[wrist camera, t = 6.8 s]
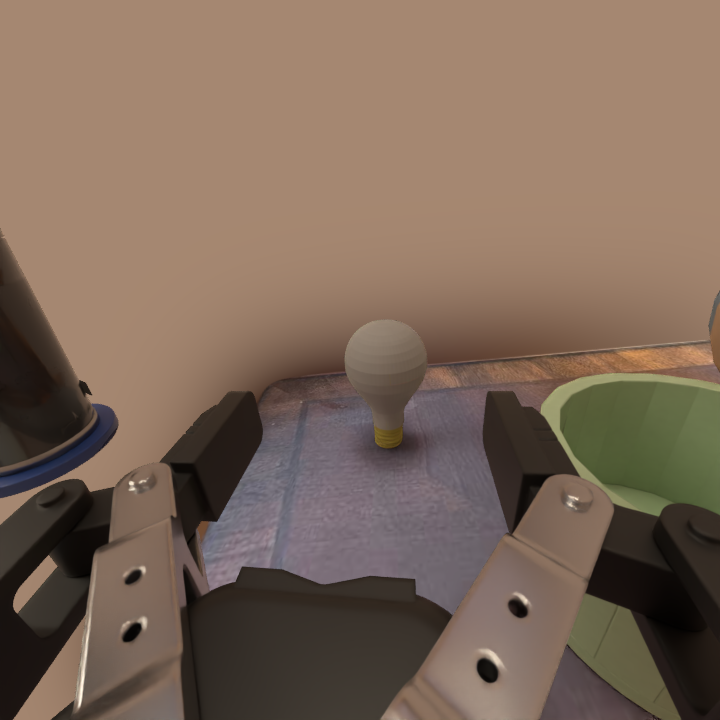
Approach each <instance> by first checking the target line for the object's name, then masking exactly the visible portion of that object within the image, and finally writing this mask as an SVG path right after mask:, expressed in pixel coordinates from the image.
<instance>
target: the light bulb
mask: <svg viewBox="0 0 720 720" xmlns="http://www.w3.org/2000/svg"><path fill="white" fill-rule="evenodd" d="M426 368H427V352H426V350H425V347H424V344H423V342H422V340H421V338H420V337H419V335H418V334H417V333H416V332H415V331H414V330H413V329H412V328H410V327H409V326H408V325H406V324H404V323H402V322H399V321H395V320H378V321H373V322H370V323H368V324H366V325H364V326H363V327H361V328H360V329H358V330H357V331H356V332H355V334H354V335H353V336H352V338H351V339H350V341H349V343H348V346H347V348H346V353H345V370H346V373H347V376H348V379H349V381H350V383H351V384H352V386H353V387H354V389H355V390H356V391H357V392H358V394H359V395H360V396H361V397H362V398H363V399H364V400H365V402H366V403H367V404H368V405H369V407H370V408H371V410H372V415H373V424H374V429H375V430H374V431H375V442H376V444H377V445H378V446H380V447H382V448H394V447H396V446H398V445H399V444H400V443H401V442H402V439H403V430H402V429H403V427H402V426H403V423H404V408H405V406H406V404H407V403H408V401H409V400H410V398H411V397H412V396H413V394H414V393H415V392H416V390H417V389H418V388H419V386H420V384H421V383H422V381H423V379H424V376H425V372H426Z"/></svg>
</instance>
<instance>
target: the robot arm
mask: <svg viewBox="0 0 720 720" xmlns="http://www.w3.org/2000/svg"><path fill="white" fill-rule="evenodd" d="M1 237H4V235H3V233H2V231H1V229H0V477H4V476H9V475H13V474H17V473H20V472H23V471H26V470H29V469H32V468H35V467H37V466H40V465H42V464H44V463H47V462H49V461H51V460H53V459H55V458H57V457H59V456H61V455H63V454H64V453H66V452H68V451H70V450H71V449H73V448H74V447H76V446H77V445H79V444H80V443H81V442H83V441H84V440H85V439H86V438H87V437H89V436H90V435H91V434H92V433H93V431H94V430H95V429H96V427H97V426H98V424H99V416H98V414H97V412H96V410H95V408H94V407H93V406H92V405H91V403H90V401H89V399H88V397H87V395H86V393H87V394H89V395H92V394H91V392H90V390H89V388H88V386H87V384H86V383H85V382H83V381H80V380H79V379H78V378H77V375H76V374H75V372H74V370H73V368H72V366H71V364H70V362H69V360H68V358H67V356H66V354H65V352H64V351H63V349H62V347H61V345H60V343H59V341H58V339H57V337H56V335H55V334H54V331H53V329H52V327H51V326H50V323H49V322H48V320H47V318H46V316H45V314H44V312H43V310H42V308H41V306H40V304H39V303H38V300H37V299H36V297H35V295H34V293H33V291H32V289H31V287H30V285H29V283H28V281H27V279H26V277H25V276H24V274H23V272H22V270H21V268H20V266H19V264H18V262H17V260H16V258H15V256H14V254H13V253H12V251H11V249H10V247H9V245H8V243H7V241H6V239H5V238H1ZM262 435H263V428H262V423H261V419H260V416H259V412H258V408H257V404H256V400H255V396H254V394H253V393H252V392H250V391H243V392H242V391H237V392H236V391H231V392H228V393H227V394H226V395H225V397H224V398H223V399H222V400H221V401H220V403H219V404H218V405H215V406H213V407H212V408H210V409H209V410H207V411H206V412H204V413H202V414H201V415H200V417H199V418H198V419H197V420H196V421H195V422H194V424H193V426H191V427H190V428H189V429H188V430H187V431H186V434H184V435H183V436H182V437H181V438H180V439H179V440H178V441H177V443H176V444H175V445H174V446H173V447H172V448H171V449H170V450H169V452H168V453H167V454H166V455H165V456H164V457H163V458H162V460H161V461H160V462H159V463H151V464H147V465H144V466H141V467H139V468H137V469H135V470H133V471H131V472H130V473H128V474H127V475H125V476H124V477H123V478H122V479H121V480H120V481H119V482H118V483H117V485H116V486H115V487H112V488H107V489H102V490H98V491H93V492H90V491H89V490H88V488H87V486H86V485H85V483H84V482H83V481H82V480H79V479H69V480H65V481H61V482H58V483H55V484H53V485H51V486H49V487H47V488H45V489H43V490H42V491H40V492H38V493H37V494H35V495H34V496H33V497H31V498H30V499H29V500H28V501H27V502H26V503H24V504H23V505H22V506H21V507H20V508H19V509H18V510H17V511H15V512H14V513H13V514H12V515H11V516H10V517H9V518H8V519H6V520H5V521H4V522H3V523H2V524H1V525H0V720H13V719H14V717H15V716H16V715H17V713H18V712H19V710H20V709H21V707H22V706H23V704H24V703H25V701H26V700H27V699H28V697H29V696H30V694H31V693H32V691H33V690H34V688H35V687H36V686H37V684H38V683H39V681H40V680H41V678H42V677H43V675H44V674H45V673H46V671H47V670H48V668H49V667H50V665H51V664H52V662H53V661H54V660H55V658H56V657H57V655H58V654H59V652H60V651H61V649H62V648H63V646H64V645H65V643H66V642H67V641H68V639H69V638H70V636H71V635H72V633H73V632H74V630H75V629H76V628H77V626H78V625H79V623H80V622H81V620H82V619H83V618H84V616H85V615H86V618H85V626H84V633H83V641H82V648H81V656H80V663H79V671H78V678H77V685H76V693H75V700H74V701H73V702H71V703H70V704H69V705H68V706H67V707H66V708H64V709H63V710H62V711H61V712H59V713H58V714H57V715H56V716H55V717H54V718H52V719H51V720H539V719H540V716H541V714H542V711H543V708H544V705H545V703H546V700H547V697H548V694H549V691H550V689H551V686H552V683H553V680H554V678H555V675H556V672H557V669H558V667H559V664H560V661H561V658H562V655H563V653H564V650H565V647H566V644H567V642H568V639H569V636H570V633H571V630H572V628H573V625H574V622H575V619H576V617H577V614H578V611H579V608H580V606H581V603H582V600H583V597H584V594H585V593H586V594H589V595H591V596H594V597H597V598H599V599H602V600H605V601H607V602H610V603H613V604H615V605H618V606H621V607H624V608H626V609H629V610H630V611H631V613H632V615H633V617H634V620H635V622H636V624H637V626H638V628H639V630H640V632H641V635H642V637H643V639H644V641H645V643H646V645H647V647H648V650H649V652H650V654H651V656H652V658H653V660H654V662H655V664H656V667H657V669H658V671H659V673H660V675H661V677H662V679H663V682H664V684H665V686H666V688H667V690H668V692H669V694H670V697H671V699H672V701H673V703H674V705H675V707H676V709H677V712H678V714H679V716H680V718H681V720H720V515H719V514H717V513H715V512H712V511H710V510H708V509H705V508H702V507H699V506H695V505H691V504H684V503H675V504H670V505H667V506H665V507H664V508H663V509H662V511H661V513H660V515H659V516H656V515H652V514H648V513H644V512H641V511H637V510H633V509H629V508H626V507H623V506H619V505H617V504H614V503H612V501H611V499H610V497H609V496H608V495H607V494H606V493H605V492H604V491H603V490H602V489H601V488H600V487H598V486H597V485H596V484H594V483H592V482H590V481H588V480H586V479H584V478H581V477H580V475H579V473H578V472H577V470H576V468H575V467H574V465H573V463H572V462H571V460H570V458H569V457H568V455H567V453H566V452H565V450H564V448H563V447H562V445H561V443H560V441H558V438H557V436H556V435H555V433H554V431H552V428H551V426H550V425H549V423H548V421H547V420H546V418H545V417H544V416H543V415H542V414H540V413H539V412H538V411H536V410H535V409H534V408H533V407H522V406H521V405H520V403H519V401H518V399H517V397H516V395H515V393H514V392H513V391H488V393H487V397H486V406H485V415H484V425H483V444H484V449H485V452H486V456H487V459H488V462H489V466H490V469H491V473H492V476H493V479H494V483H495V486H496V489H497V493H498V496H499V499H500V503H501V506H502V509H503V513H504V516H505V520H506V523H507V526H508V530H509V533H510V534H509V533H506V534H505V535H504V536H503V537H502V539H501V540H500V542H499V543H498V545H497V547H496V548H495V550H494V551H493V553H492V554H491V556H490V558H489V559H488V561H487V562H486V564H485V566H484V567H483V569H482V570H481V572H480V574H479V575H478V577H477V578H476V580H475V581H474V583H473V585H472V586H471V588H470V589H469V591H468V593H467V594H466V596H465V597H464V599H463V601H462V602H461V604H460V605H459V607H458V608H457V610H456V612H455V613H454V615H453V616H452V615H451V614H450V613H449V612H448V611H446V610H445V609H443V608H442V607H440V606H439V605H437V604H436V603H434V602H432V601H430V600H428V599H426V598H424V597H421V596H419V595H416V586H415V579H406V578H392V577H378V576H368V577H362V578H357V579H352V580H347V581H342V582H337V583H332V584H325V585H324V584H319V583H316V582H313V581H311V580H308V579H306V578H303V577H300V576H298V575H295V574H293V573H290V572H287V571H285V570H282V569H268V568H254V567H242V568H241V570H240V572H239V575H238V577H237V580H236V582H233V583H229V584H226V585H223V586H220V587H218V588H216V589H214V590H211V591H210V590H209V585H208V580H207V575H206V569H205V564H204V558H203V553H202V547H201V542H200V536H199V533H198V530H197V527H198V526H199V524H200V522H201V521H212V522H217V521H218V519H219V517H220V515H221V514H222V512H223V510H224V508H225V506H226V505H227V503H228V501H229V499H230V497H231V496H232V494H233V492H234V490H235V488H236V487H237V485H238V483H239V481H240V479H241V478H242V476H243V474H244V472H245V470H246V469H247V467H248V465H249V463H250V462H251V460H252V458H253V456H254V454H255V453H256V451H257V449H258V447H259V445H260V443H261V440H262ZM48 555H49V556H50V557H51V558H52V559H53V561H54V562H55V563H56V565H57V566H58V567H57V568H56V569H55V570H54V571H53V573H52V574H51V575H50V576H49V577H48V578H47V580H46V581H45V582H44V583H43V584H42V585H41V587H40V588H39V589H38V590H37V591H36V592H35V594H34V595H33V596H32V597H31V598H30V600H29V601H28V602H27V603H26V604H25V605H24V607H23V608H22V609H21V610H20V611H19V613H18V614H17V613H16V612H15V611H14V608H13V600H14V596H15V594H16V592H17V590H18V589H19V587H20V586H21V585H22V583H24V581H25V580H26V579H27V578H28V577H29V576H30V575H31V574H32V573H33V571H34V570H35V569H36V568H37V567H38V566H39V565H40V563H42V561H43V560H44V559H45V558H46V557H47V556H48Z"/></svg>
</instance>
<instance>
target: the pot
mask: <svg viewBox="0 0 720 720" xmlns="http://www.w3.org/2000/svg"><path fill="white" fill-rule="evenodd" d="M540 414H542V415H543V416H544V417H545V418H546V420H547V421H548V423H549V425H550V426H551V428H552V431H554V433H555V435H556V436H557V438H558V441H560V443H561V445H562V447H563V448H564V450H565V452H566V453H567V455H568V457H569V458H570V460H571V462H572V463H573V465H574V467H575V468H576V470H577V472H578V473H579V475H580V477H581V478H584V479H586V480H588V481H590V482H592V483H594V484H596V485H597V486H598V487H600V488H601V489H602V490H603V491H604V492H605V493H606V494H607V495H608V496H609V497H610V499H611V501H612V503H614V504H617V505H619V506H623V507H626V508H629V509H633V510H637V511H641V512H644V513H648V514H652V515H656V516H659V515H660V513H661V511H662V509H663V508H664V507H665V506H667V505H670V504H675V503H684V504H691V505H695V506H699V507H702V508H705V509H708V510H710V511H712V512H715V513H717V514H719V515H720V385H719V384H715V383H711V382H706V381H702V380H696V379H689V378H681V377H674V376H666V375H659V374H636V373H608V374H601V375H595V376H588V377H581V378H578V379H576V380H574V381H571V382H569V383H567V384H564V385H562V386H559V387H557V388H556V389H555V390H554V391H553V392H552V393H551V395H550V396H549V397H548V398H547V399H546V400H545V401H544V402H543V404H542V405H541V408H540ZM567 644H568V646H569V647H570V648H571V649H572V650H573V651H574V652H575V653H576V654H577V655H578V657H580V658H581V659H582V660H583V661H584V662H585V663H586V664H587V665H588V666H589V667H590V668H591V669H592V670H593V671H594V672H595V673H597V674H598V675H599V676H600V677H601V678H602V679H604V680H605V681H606V682H607V683H609V684H610V685H611V686H612V687H614V688H615V689H616V690H617V691H619V692H620V693H621V694H622V695H624V696H625V697H627V698H628V699H630V700H631V701H633V702H634V703H636V704H637V705H639V706H640V707H642V708H643V709H644V710H646V711H648V712H649V713H651V714H653V715H655V716H656V717H658V718H660V719H662V720H681V718H680V716H679V714H678V712H677V709H676V707H675V705H674V703H673V701H672V699H671V697H670V694H669V692H668V690H667V688H666V686H665V684H664V682H663V679H662V677H661V675H660V673H659V671H658V669H657V667H656V664H655V662H654V660H653V658H652V656H651V654H650V652H649V650H648V647H647V645H646V643H645V641H644V639H643V637H642V635H641V632H640V630H639V628H638V626H637V624H636V622H635V620H634V617H633V615H632V613H631V611H630V610H629V609H626V608H624V607H621V606H618V605H615V604H613V603H610V602H607V601H605V600H602V599H599V598H597V597H594V596H591V595H589V594H586V593H585V594H584V597H583V600H582V603H581V606H580V608H579V611H578V614H577V617H576V619H575V622H574V625H573V628H572V630H571V633H570V636H569V639H568V642H567Z"/></svg>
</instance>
